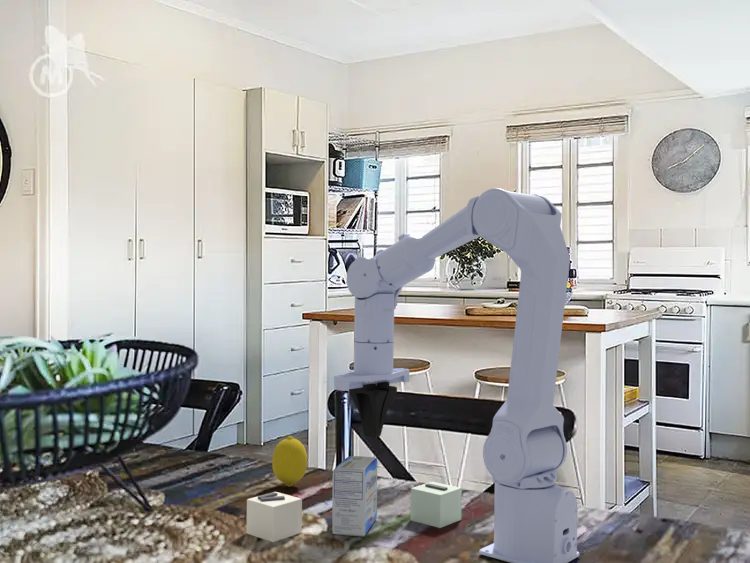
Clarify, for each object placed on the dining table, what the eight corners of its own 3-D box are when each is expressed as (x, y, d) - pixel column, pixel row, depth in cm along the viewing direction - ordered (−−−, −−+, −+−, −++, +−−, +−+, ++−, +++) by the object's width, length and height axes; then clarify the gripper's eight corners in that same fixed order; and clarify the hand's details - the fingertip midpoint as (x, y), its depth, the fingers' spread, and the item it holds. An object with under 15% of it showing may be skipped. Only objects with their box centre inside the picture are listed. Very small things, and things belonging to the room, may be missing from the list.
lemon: (267, 484, 126) (268, 434, 126) (300, 480, 128) (300, 431, 128) (278, 492, 121) (278, 440, 121) (311, 489, 123) (312, 438, 123)
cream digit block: (301, 533, 102) (302, 496, 102) (272, 543, 98) (273, 504, 98) (274, 525, 105) (275, 489, 105) (246, 534, 102) (246, 496, 102)
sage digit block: (461, 520, 109) (461, 485, 109) (440, 528, 105) (440, 492, 105) (431, 513, 112) (432, 479, 112) (410, 520, 108) (410, 486, 108)
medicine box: (364, 538, 101) (366, 470, 101) (331, 535, 101) (332, 467, 101) (377, 519, 108) (378, 456, 108) (345, 517, 109) (346, 454, 109)
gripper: (384, 337, 122) (383, 425, 122) (318, 342, 111) (317, 439, 111) (421, 340, 117) (419, 432, 117) (356, 345, 106) (354, 446, 106)
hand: (372, 436), depth 114 cm, fingers closed
